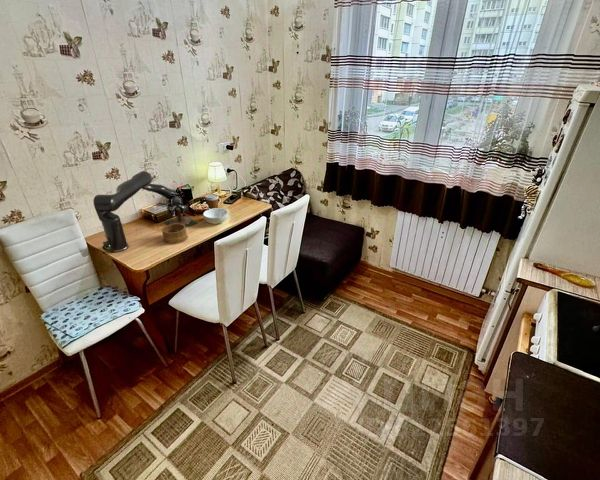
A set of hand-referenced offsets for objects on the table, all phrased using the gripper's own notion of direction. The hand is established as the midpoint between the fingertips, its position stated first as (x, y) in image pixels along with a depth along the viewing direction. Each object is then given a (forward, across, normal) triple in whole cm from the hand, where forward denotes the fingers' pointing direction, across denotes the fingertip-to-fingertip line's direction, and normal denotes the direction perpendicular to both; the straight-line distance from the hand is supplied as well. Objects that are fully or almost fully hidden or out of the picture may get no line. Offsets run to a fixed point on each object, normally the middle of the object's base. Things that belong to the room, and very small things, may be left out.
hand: (179, 212), depth 207 cm
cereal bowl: (+5, +23, +9) cm, 25 cm away
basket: (+20, -5, +9) cm, 23 cm away
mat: (-2, 0, +9) cm, 9 cm away
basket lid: (-2, 0, +8) cm, 8 cm away
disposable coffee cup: (-16, +25, +9) cm, 31 cm away
